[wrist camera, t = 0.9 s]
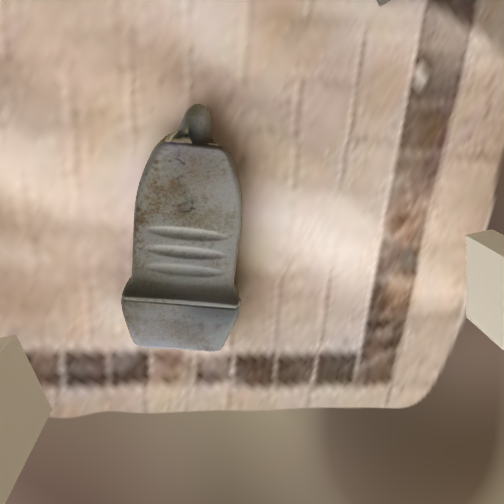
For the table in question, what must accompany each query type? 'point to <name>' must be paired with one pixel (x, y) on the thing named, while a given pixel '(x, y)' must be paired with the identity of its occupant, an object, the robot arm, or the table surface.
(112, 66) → the table surface
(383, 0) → the grey planter box
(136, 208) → the handheld device
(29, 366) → the robot arm
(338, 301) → the table surface
